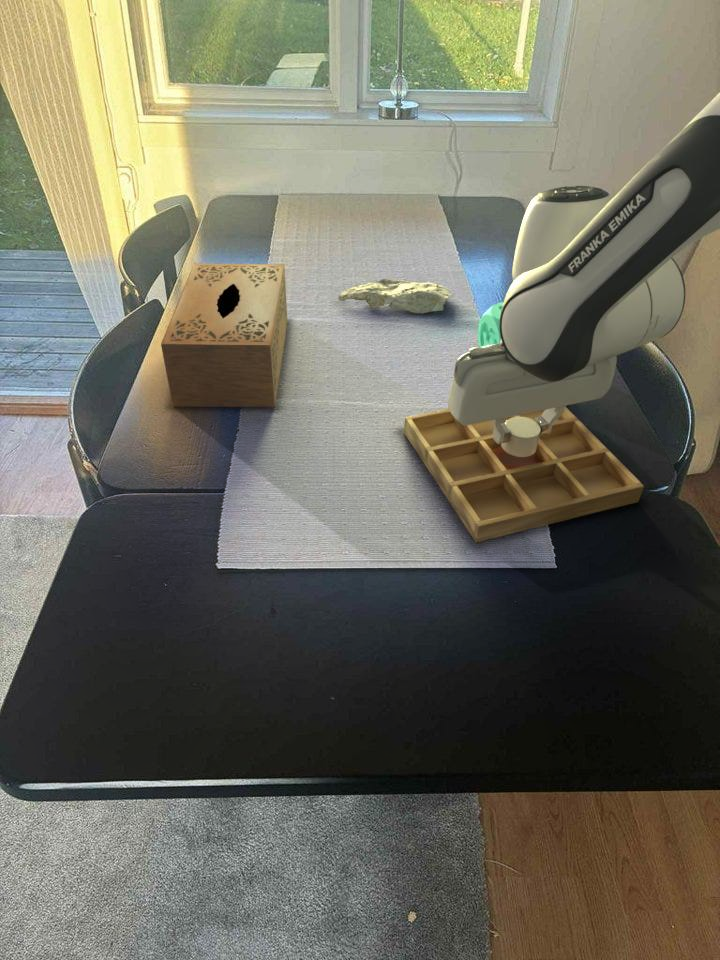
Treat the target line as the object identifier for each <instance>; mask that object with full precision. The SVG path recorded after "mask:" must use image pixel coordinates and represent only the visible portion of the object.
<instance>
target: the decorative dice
mask: <svg viewBox="0 0 720 960" xmlns="http://www.w3.org/2000/svg"><path fill="white" fill-rule="evenodd" d="M503 302H504V301H500V302H497V303H495V304H494V305H492V306H490V307H489V308H488V309H487V310H486V311H485V312H484V313H483V314H482V316H481V317H480V319H479V322H478V327H477V344H478V347H486V346H489V345H493V344H498V343H500V342H501V336H500V314H501V309H502V305H503Z"/></svg>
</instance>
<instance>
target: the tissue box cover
mask: <svg viewBox="0 0 720 960" xmlns="http://www.w3.org/2000/svg"><path fill="white" fill-rule="evenodd" d="M286 287H287V286H286V268H285V264H284V263H225V262H224V263H222V262H221V263H220V262H219V263H218V262H217V263H216V262H215V263H214V262H211V263H210V262H194V263H193V265H192V267H191V269H190V272H189V274H188V277H187V280H186V282H185V284H184V287H183V289H182V292H181V294H180V297H179V299H178V301H177V303H176V306H175V308H174V311H173V314H172V316H171V318H170V321H169V324H168V326H167V328H166V331H165V333H164V336H163V338H162V341H161V343H160V347H161V352H162V357H163V362H164V367H165V373H166V378H167V382H168V389H169V395H170V399H171V404H172V407H175V408H176V407H177V408H180V407H182V408H185V407H186V408H187V407H188V408H192V407H193V408H276V405H277V398H278V397H277V396H278V391H279V390H278V389H279V382H280V377H281V369H282V362H283V355H284V348H285V341H286V336H287V335H286V334H287V328H288V303H287V288H286Z"/></svg>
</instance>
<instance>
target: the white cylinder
mask: <svg viewBox="0 0 720 960" xmlns="http://www.w3.org/2000/svg"><path fill="white" fill-rule="evenodd" d="M505 425H506V426H507V428H508V429H509V430H510V431H511V436H510V441H509V442H506V443H502V444H501V445H502V448H503V449H504V451H506V452H507V453H509V454H511V455H513V456H517V457H527V456H531V455H533V454H534V453H535V452H536V450H537V445H538V441H539V437H540V432H541V428H540V425H539V424H538V423H537V422H536V421H534V420H532V419H529V418H526V417H514V418H510V419H509V420H507V421H506V423H505Z"/></svg>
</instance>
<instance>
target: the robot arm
mask: <svg viewBox="0 0 720 960" xmlns="http://www.w3.org/2000/svg"><path fill="white" fill-rule="evenodd" d="M718 230H720V91H719V92H718V93H717V94H716V95H715V97H713V98H712V99H711V100H710V101H709V102H708V103H707V104H706V105H705V106H704V107H703V108H702V109H701V111H700V112H698V113H697V114H696V115H695V116H694V117H693V118H692V119H691V120H690V121H689V122H688V123H687V124H686V125H685V127H684V128H682V129H681V131H679V133H677V134H676V135H675V136H674V137H673V138H672V140H670V141H669V142H668V143H667V144H666V145H665V146H664V147H663V148H662V149H661V150H660V151H658V153H657V154H656V155H654V156H653V157H652V158H651V160H649V161H648V162H647V163H646V164H645V165H644V166H643V167H642V168H641V169H640V170H639V171H638V172H637V173H636V174H635V175H634V176H633V177H632V178H631V179H630V180H629V181H628V182H627V183H626V184H625V185H624V186H623V187H622V188H621V189H620V190H619V191H618V192H617V193H616V194H615V196H614V197H612V194H610V193H609V192H608V191H606V190H604V189H602V188H600V187H595V186H589V185H574V186H560V187H554V188H552V189H548V190H545V191H542V192H539V193H538V194H537V195H535V196H534V197H533V198H532V199H531V201H530V203H529V204H528V206H527V208H526V210H525V213H524V215H523V219H522V221H521V225H520V229H519V233H518V236H517V241H516V246H515V251H514V257H513V263H512V270H511V274H512V275H511V276H512V281H513V282H512V283H511V284H510V286H509V287H508V289H507V292H506V294H505V297H504V300H503V301H502V302H503V305H502V309H501V314H500V336H501V342H500V343H498V344H493V345H489V346H486V347H479V346H476V347H475V346H474V347H471V348H468V350H467V352H465V353H464V354H462V355H461V356H459V358H457V360H456V361H455V364H454V371H453V378H452V382H451V386H450V390H449V395H448V399H447V409H449V411H450V412H451V414H452V415H453V416H454V418H455V419H456V420H457V421H458V422H459V423H460V424H462V425H464V426H466V425H472V424H476V423H481V422H486V421H491V423H492V425H493V426H494V429H493V439H494V440H495V442H496V443H497V444H502V443H506V442H509V441H510V436H511V431H510V430H509V429H508V428H507V426H506V425H505V424H501V423H505V422H506V418H507V417H511V416H516V415H521V414H526V413H531V412H536V411H541V410H545V411H544V412H543V414H542V415H541V416H540V417H536V418H535V421H536V422H537V423H538V424H539V425H540V428H541V432H540V435H544V434H549V433H551V429H552V425H553V423H554V422H555V421H556V420H557V419H558V418H559V416H560V415H561V414H562V413H563V412H564V410H565V407H567V406H569V405H575V404H581V403H586V402H590V401H596V400H600V399H603V397H605V395H606V394H607V393H608V392H609V391H610V389H611V387H612V383H613V381H614V376H615V371H616V367H617V360H618V357H617V356H620V355H622V354H626V353H627V352H629V351H632V350H634V349H636V348H640V347H642V346H645V345H647V344H649V343H652V342H654V341H657V340H658V339H661V338H664V337H665V336H667V335H668V334H670V333H671V332H672V331H673V330H674V328H675V327H676V326H677V324H678V323H679V321H680V319H681V317H682V315H683V312H684V310H685V309H684V308H685V305H686V284H685V279H684V275H683V273H682V270H681V268H680V266H679V265H678V263H677V261H676V260H675V259H674V257H675V256H677V254H679V253H680V252H682V251H683V250H684V249H686V248H687V247H689V246H691V245H692V244H694V243H695V242H697V241H699V240H700V239H702V238H704V237H706V236H708V235H710V234H712V233H714V232H716V231H718Z"/></svg>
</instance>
